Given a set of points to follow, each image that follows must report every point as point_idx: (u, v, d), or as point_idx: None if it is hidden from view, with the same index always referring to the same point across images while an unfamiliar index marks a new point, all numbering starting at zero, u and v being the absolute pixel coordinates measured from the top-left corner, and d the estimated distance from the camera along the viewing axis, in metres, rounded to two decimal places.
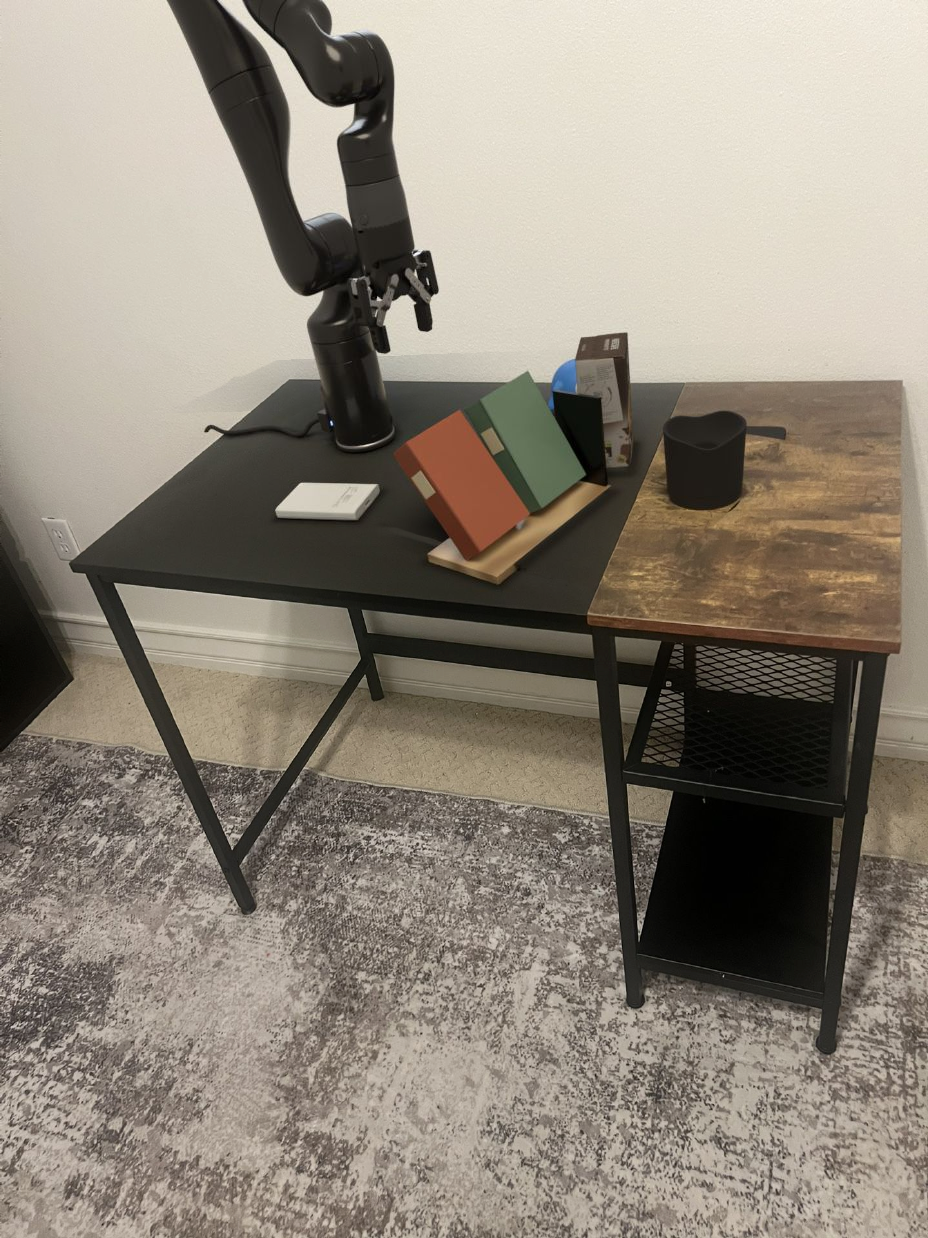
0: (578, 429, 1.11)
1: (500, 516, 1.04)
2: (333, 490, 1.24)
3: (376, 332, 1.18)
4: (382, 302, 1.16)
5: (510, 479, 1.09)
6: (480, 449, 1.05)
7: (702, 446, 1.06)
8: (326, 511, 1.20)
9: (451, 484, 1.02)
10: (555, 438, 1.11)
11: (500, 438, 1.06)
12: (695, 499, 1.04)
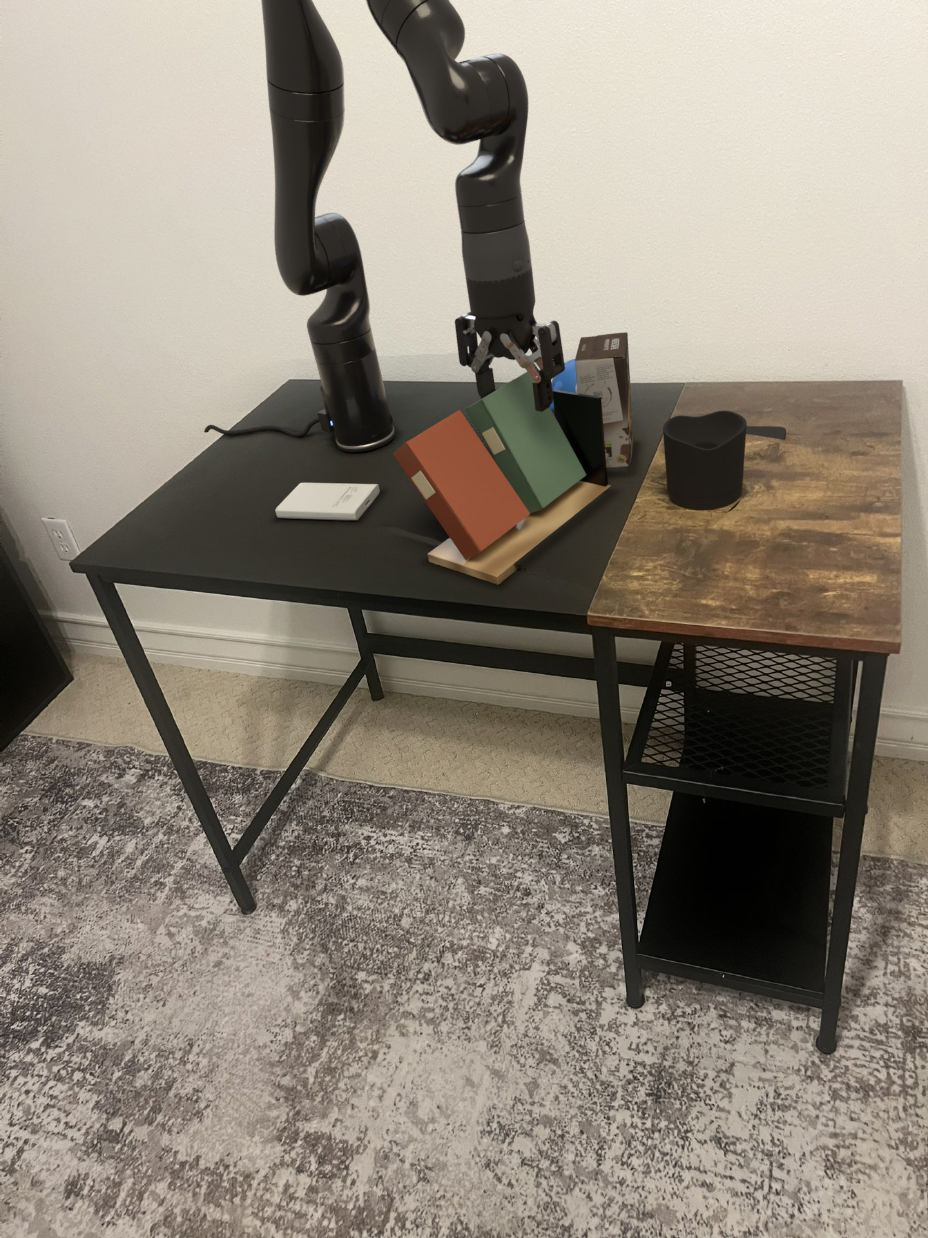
0: (578, 429, 1.11)
1: (500, 516, 1.04)
2: (333, 490, 1.24)
3: (476, 375, 1.09)
4: None
5: (511, 479, 1.09)
6: (480, 449, 1.05)
7: (702, 446, 1.06)
8: (326, 511, 1.20)
9: (451, 484, 1.02)
10: (556, 438, 1.11)
11: (501, 438, 1.06)
12: (695, 499, 1.04)
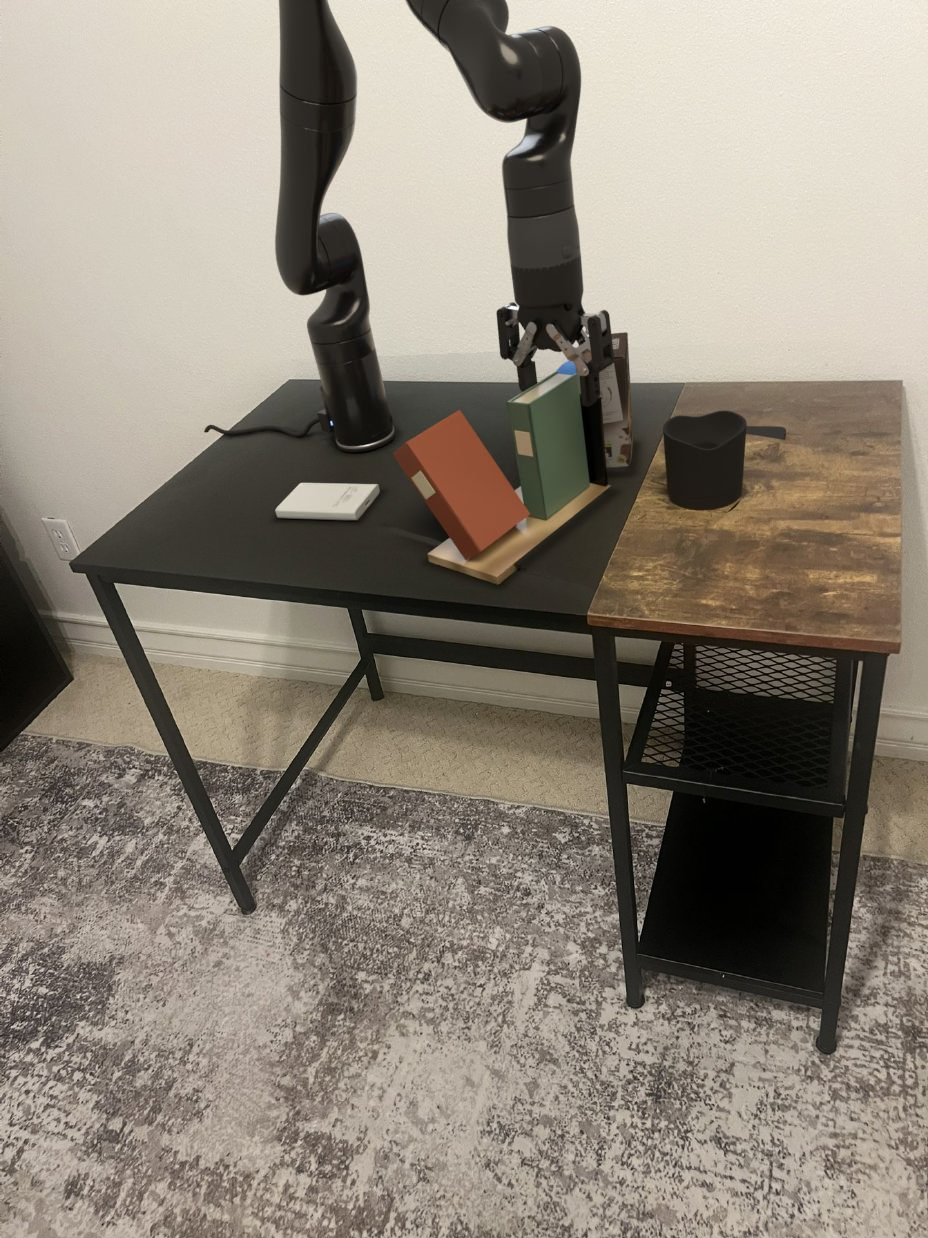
0: None
1: (500, 516, 1.04)
2: (333, 490, 1.24)
3: (517, 369, 1.04)
4: None
5: (525, 481, 1.07)
6: (480, 449, 1.05)
7: (702, 446, 1.06)
8: (326, 511, 1.20)
9: (451, 484, 1.02)
10: (577, 448, 1.09)
11: (533, 446, 1.03)
12: (695, 499, 1.04)
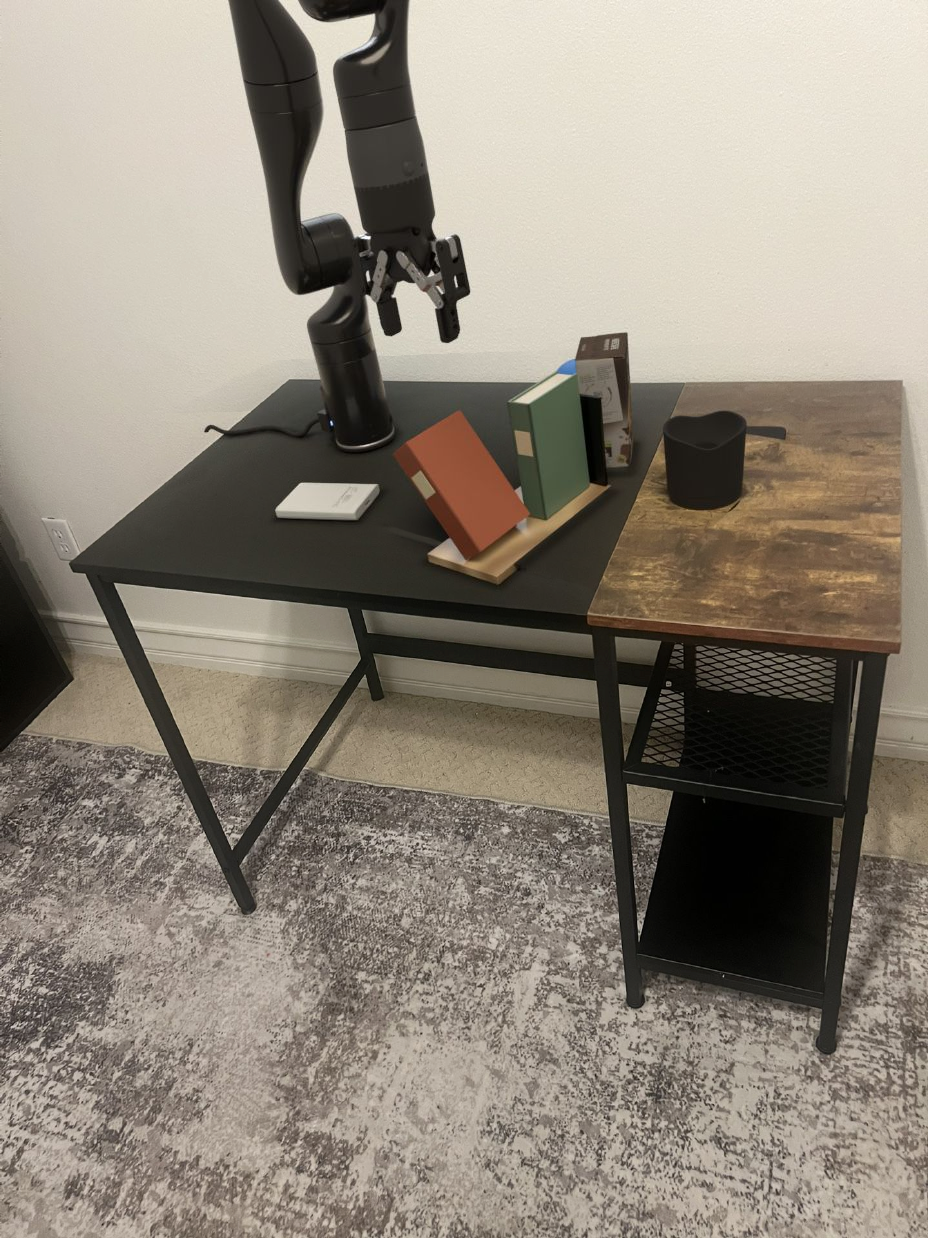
0: None
1: (500, 516, 1.04)
2: (333, 490, 1.24)
3: (377, 306, 0.97)
4: None
5: (525, 481, 1.07)
6: (480, 449, 1.05)
7: (702, 446, 1.06)
8: (326, 511, 1.20)
9: (451, 484, 1.02)
10: (577, 448, 1.09)
11: (534, 446, 1.03)
12: (695, 499, 1.04)
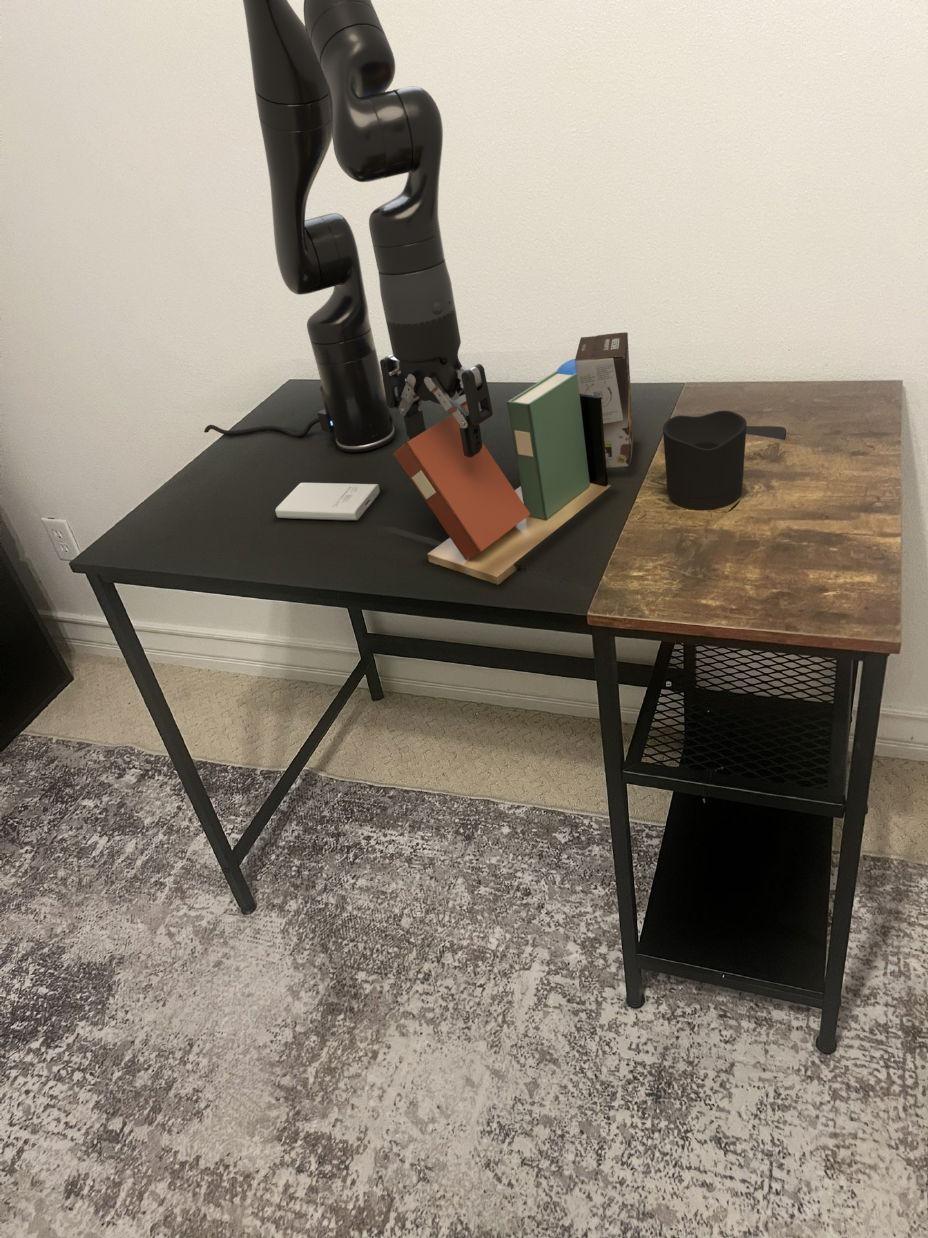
0: None
1: (500, 516, 1.04)
2: (333, 490, 1.24)
3: (404, 418, 1.04)
4: None
5: (525, 481, 1.07)
6: None
7: (702, 446, 1.06)
8: (326, 511, 1.20)
9: (451, 484, 1.01)
10: (577, 448, 1.09)
11: (534, 446, 1.03)
12: (695, 499, 1.04)
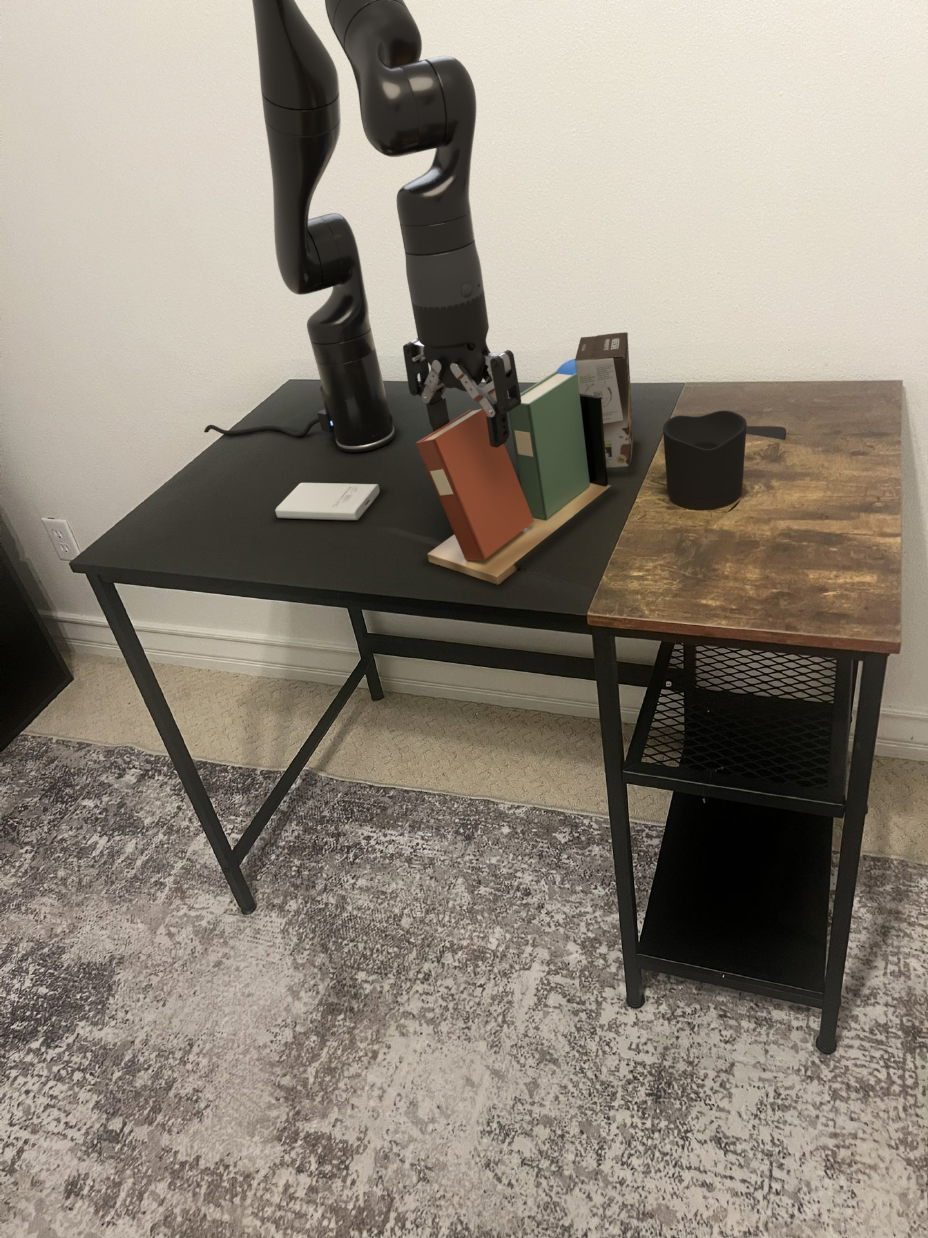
0: None
1: (507, 523, 1.04)
2: (333, 490, 1.24)
3: (427, 406, 1.00)
4: None
5: (525, 481, 1.07)
6: (500, 450, 1.03)
7: (702, 446, 1.06)
8: (326, 511, 1.20)
9: (469, 487, 1.00)
10: (577, 448, 1.09)
11: (534, 446, 1.03)
12: (695, 499, 1.04)
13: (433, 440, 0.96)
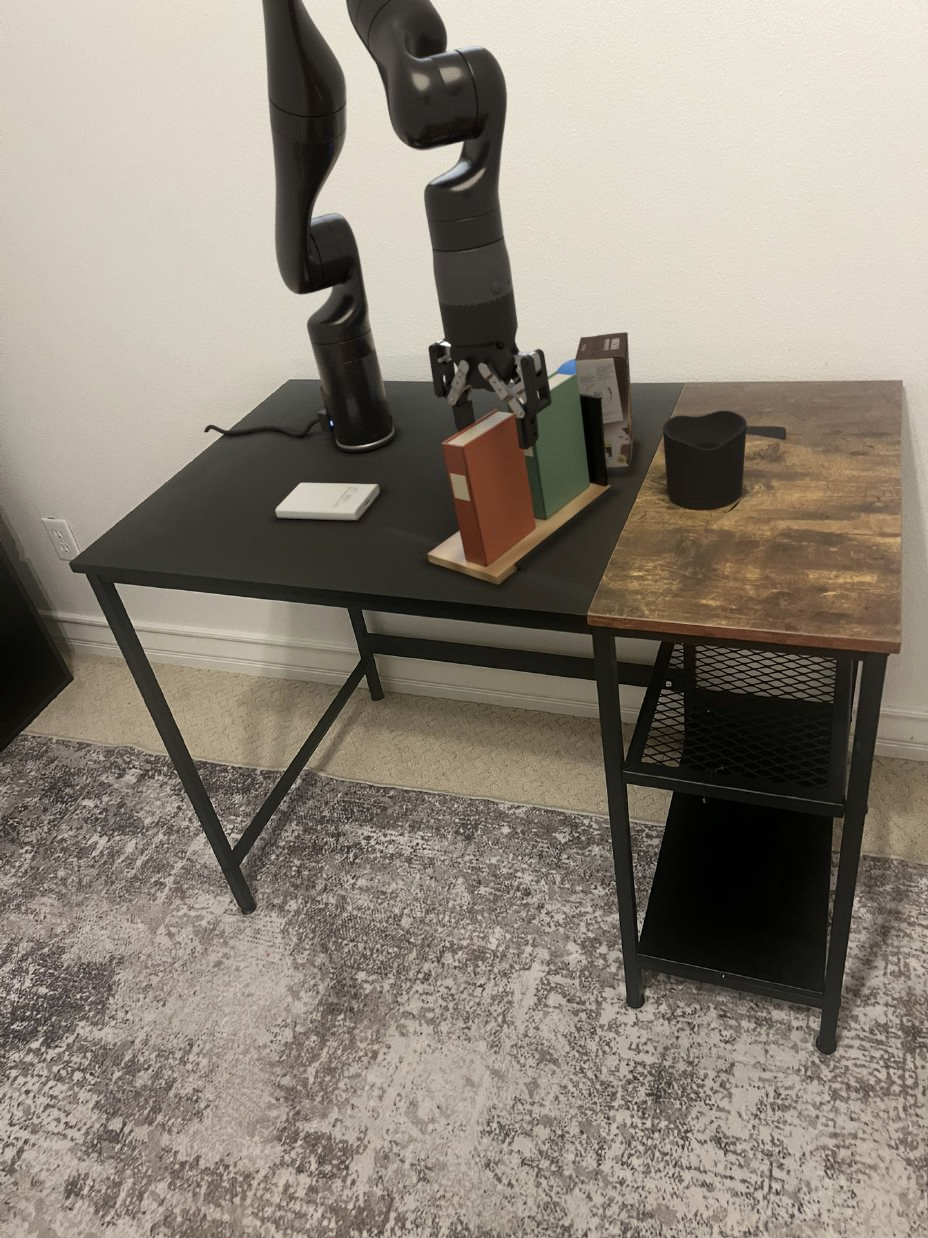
0: None
1: (513, 530, 1.04)
2: (333, 490, 1.24)
3: (453, 408, 0.97)
4: None
5: None
6: (520, 457, 1.01)
7: (702, 446, 1.06)
8: (326, 511, 1.20)
9: (486, 495, 0.99)
10: (577, 448, 1.09)
11: (534, 446, 1.03)
12: (695, 499, 1.04)
13: (462, 448, 0.94)
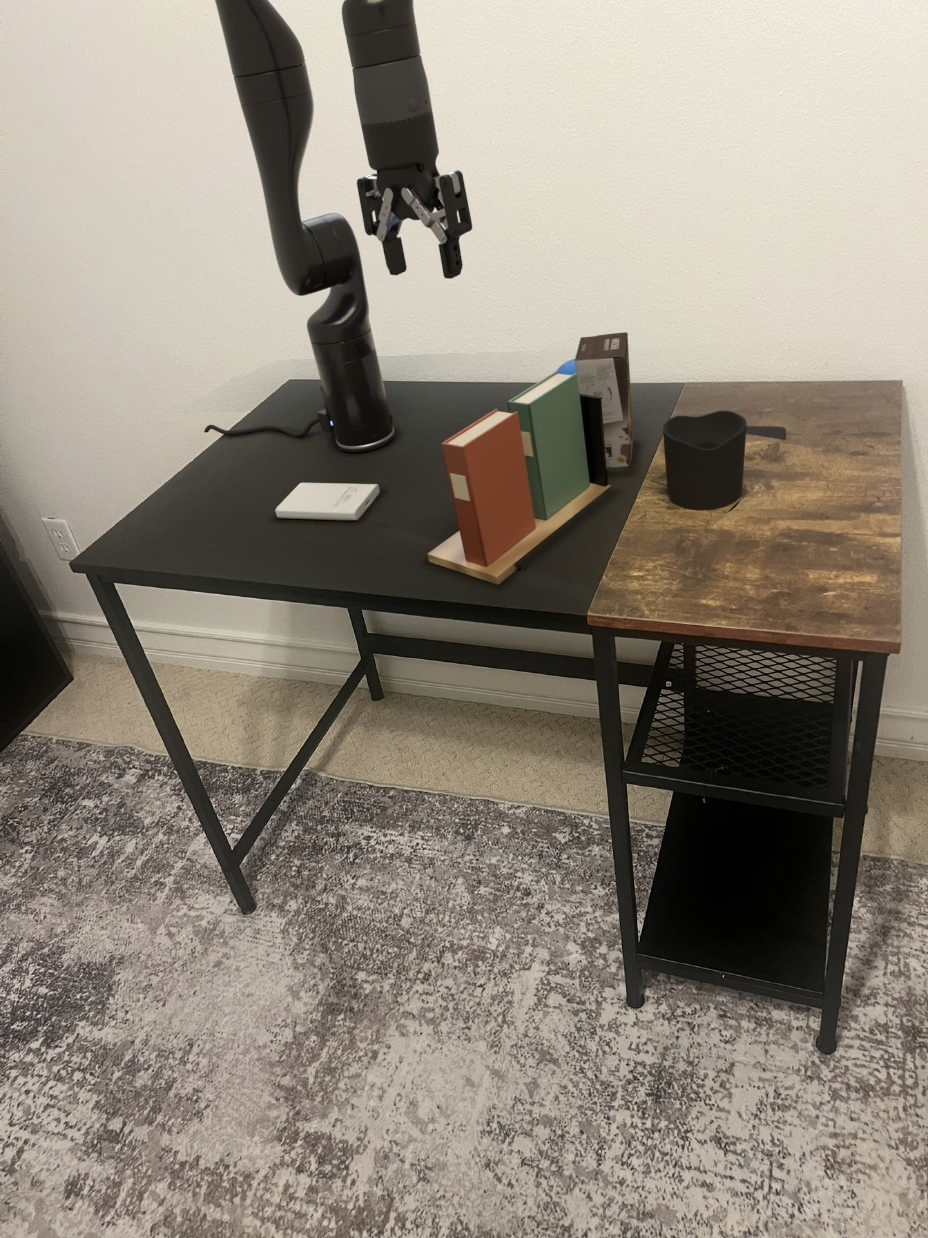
0: None
1: (513, 530, 1.04)
2: (333, 490, 1.24)
3: (383, 246, 1.01)
4: None
5: None
6: (520, 457, 1.01)
7: (702, 446, 1.06)
8: (326, 511, 1.20)
9: (486, 495, 0.99)
10: (577, 448, 1.09)
11: (534, 446, 1.03)
12: (695, 499, 1.04)
13: (462, 448, 0.94)
